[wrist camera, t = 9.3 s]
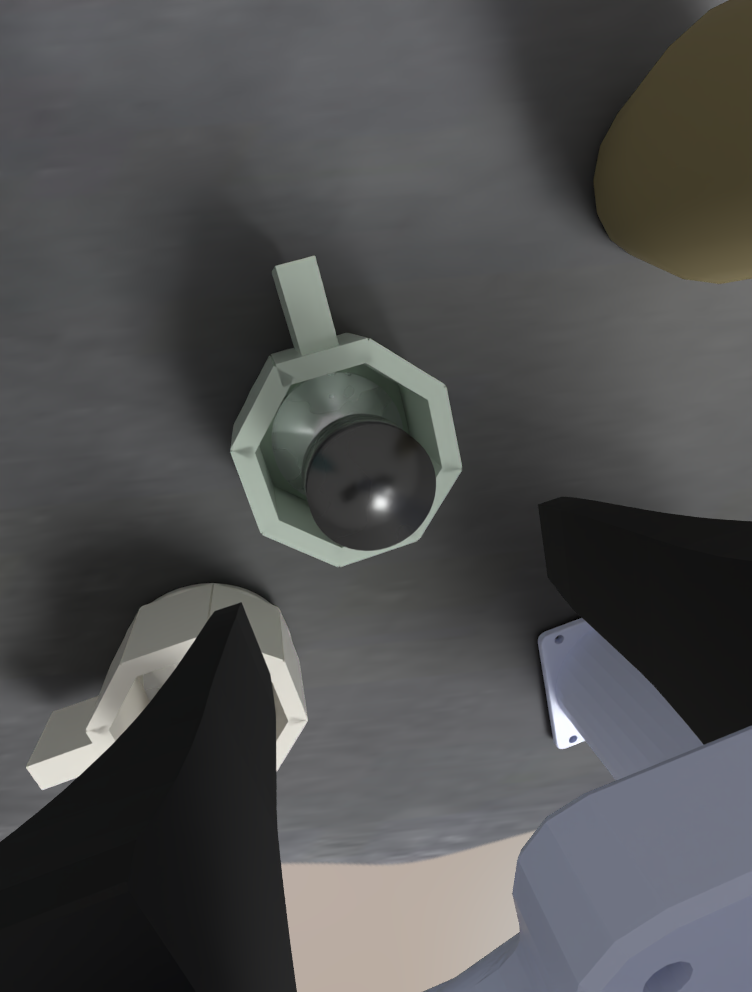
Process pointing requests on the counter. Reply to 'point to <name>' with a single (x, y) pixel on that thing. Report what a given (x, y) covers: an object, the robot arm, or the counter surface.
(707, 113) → the squeeze bottle
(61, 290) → the counter surface
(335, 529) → the sage press plunger
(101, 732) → the cream press pot
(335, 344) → the sage press pot
